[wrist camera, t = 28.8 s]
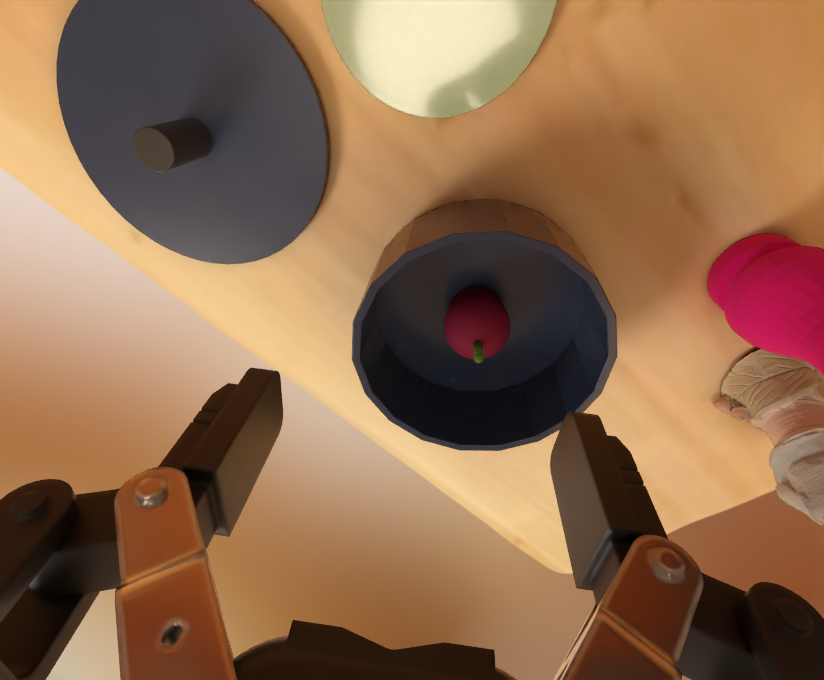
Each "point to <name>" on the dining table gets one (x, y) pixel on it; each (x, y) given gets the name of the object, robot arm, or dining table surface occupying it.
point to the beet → (476, 323)
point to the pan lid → (194, 123)
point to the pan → (528, 340)
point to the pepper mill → (773, 295)
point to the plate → (437, 49)
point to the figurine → (783, 421)
